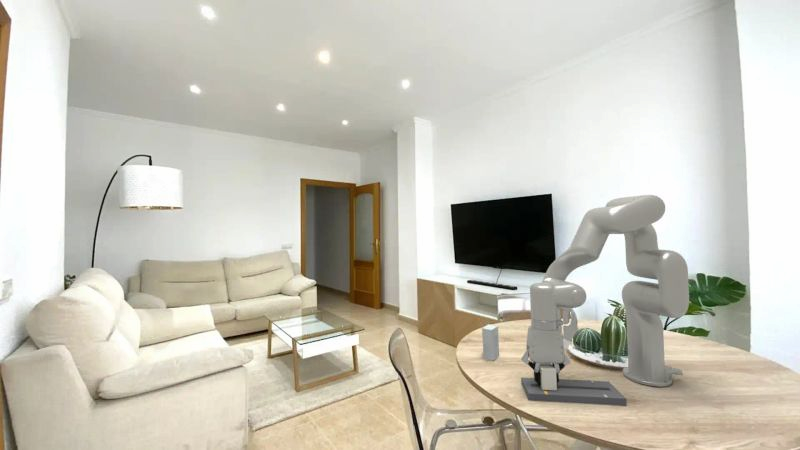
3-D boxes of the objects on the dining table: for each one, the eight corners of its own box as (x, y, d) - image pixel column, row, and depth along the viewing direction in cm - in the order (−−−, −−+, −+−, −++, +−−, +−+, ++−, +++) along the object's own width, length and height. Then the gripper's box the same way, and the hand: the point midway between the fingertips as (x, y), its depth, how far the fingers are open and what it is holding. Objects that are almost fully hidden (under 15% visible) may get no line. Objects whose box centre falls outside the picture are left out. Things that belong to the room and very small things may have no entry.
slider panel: (608, 387, 97) (608, 380, 97) (626, 405, 87) (626, 398, 87) (521, 383, 101) (521, 376, 101) (528, 400, 91) (528, 393, 91)
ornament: (584, 347, 129) (583, 307, 129) (559, 352, 125) (557, 310, 125) (544, 331, 150) (543, 297, 150) (522, 335, 146) (520, 299, 146)
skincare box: (489, 353, 126) (488, 323, 126) (499, 356, 123) (498, 325, 123) (482, 358, 121) (481, 327, 121) (493, 361, 118) (492, 329, 118)
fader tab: (550, 380, 98) (549, 361, 98) (557, 390, 92) (556, 369, 92) (536, 380, 98) (536, 360, 98) (542, 389, 92) (541, 369, 93)
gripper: (569, 320, 98) (571, 379, 98) (513, 320, 100) (515, 377, 100) (578, 328, 90) (581, 391, 90) (518, 327, 93) (520, 388, 93)
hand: (546, 383), depth 95 cm, fingers closed on fader tab, 4 cm apart
